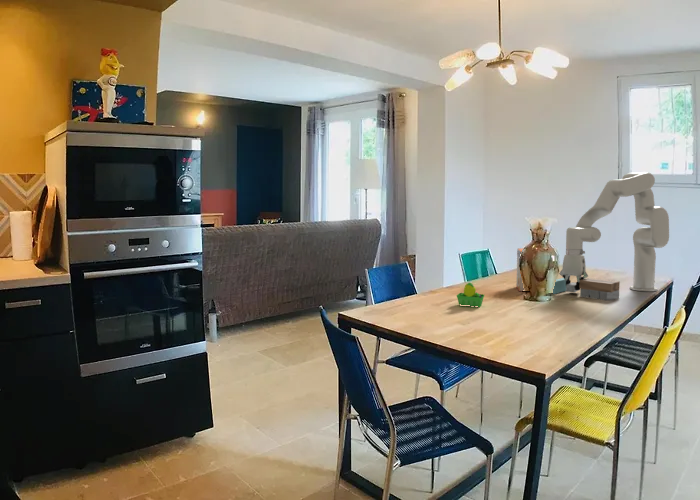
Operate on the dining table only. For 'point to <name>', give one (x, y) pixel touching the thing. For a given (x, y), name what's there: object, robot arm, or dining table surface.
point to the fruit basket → (470, 296)
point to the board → (599, 285)
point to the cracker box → (519, 279)
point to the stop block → (559, 286)
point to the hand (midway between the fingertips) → (573, 288)
